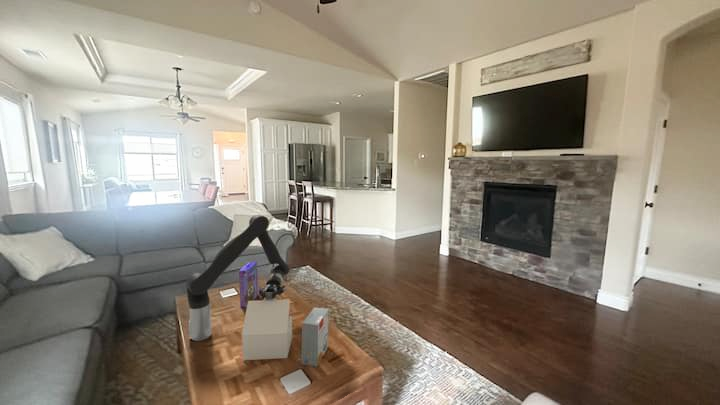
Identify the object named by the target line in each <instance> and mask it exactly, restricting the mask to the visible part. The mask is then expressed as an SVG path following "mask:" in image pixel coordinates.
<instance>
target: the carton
mask: <svg viewBox="0 0 720 405" xmlns="http://www.w3.org/2000/svg"><path fill="white" fill-rule="evenodd" d="M292 318H293V316H292V315H289V317H288V327H287V334H272V335H250V336H242V335H241V342H242V343H241V347H242V360H243V361H252V360H256V361H257V360H273V359H274V360H275V359H276V360H277V359H288V357H289V353H290V348H291V344H292V340H293V320H292Z"/></svg>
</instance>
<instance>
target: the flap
mask: <svg viewBox="0 0 720 405" xmlns="http://www.w3.org/2000/svg"><path fill="white" fill-rule="evenodd" d="M272 294H273V292H265V299H261V300H254V301H248V305H247V308H246V311H245V315H244V321H243V326H242V331H241V337H242V336H250V335H272V334H287V327H288V317H289V316H290V315H289V314H290V305H291V299H272Z"/></svg>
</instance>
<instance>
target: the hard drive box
mask: <svg viewBox="0 0 720 405" xmlns="http://www.w3.org/2000/svg"><path fill="white" fill-rule="evenodd" d="M301 326H302V327H301V328H302V329H301V337H302V338H301V365H306V366H311V367H316V368H317V367H318V366H319V365H320V363H321V361H322V360H323V359H322V358H323V356H324V355H325V353H326V350H327V349H328V346H329V308H323V307H313V309H311V311H310V312H309V313H308V315H307V316H306V318H305V319H304V320H303V321H302V324H301Z"/></svg>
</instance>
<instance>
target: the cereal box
mask: <svg viewBox="0 0 720 405" xmlns="http://www.w3.org/2000/svg"><path fill="white" fill-rule="evenodd" d="M238 281H239V285H238V286H239V301H240V302H239V305H240V308H244V309H245V308H246V309H247V305H248V301H256V299H257V297H258V296H259V288H258V287H259V283H258V282H259V278H258V262H257V261H253V260H252V261H249V262H248V263H246V265H244V266H243V267H242V268H241V269H239V270H238Z"/></svg>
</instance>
